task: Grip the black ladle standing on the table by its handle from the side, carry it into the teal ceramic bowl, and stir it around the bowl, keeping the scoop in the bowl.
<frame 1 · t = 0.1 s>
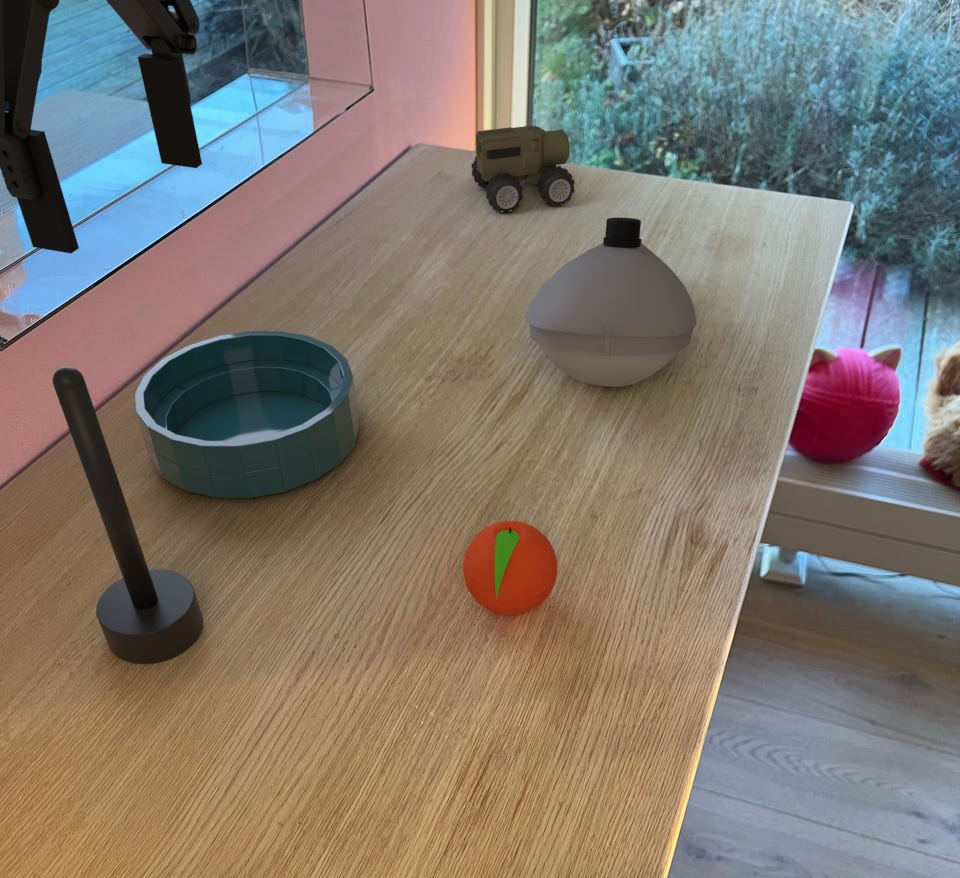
hand: (123, 203, 65), 27 cm above the table, tool pointing down, fingers open, 13 cm apart
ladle: (155, 630, 77), on the table
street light: (611, 349, 104), on the table
clementine: (509, 609, 78), on the table
toy vehicle: (522, 197, 131), on the table
bowl: (256, 442, 94), on the table
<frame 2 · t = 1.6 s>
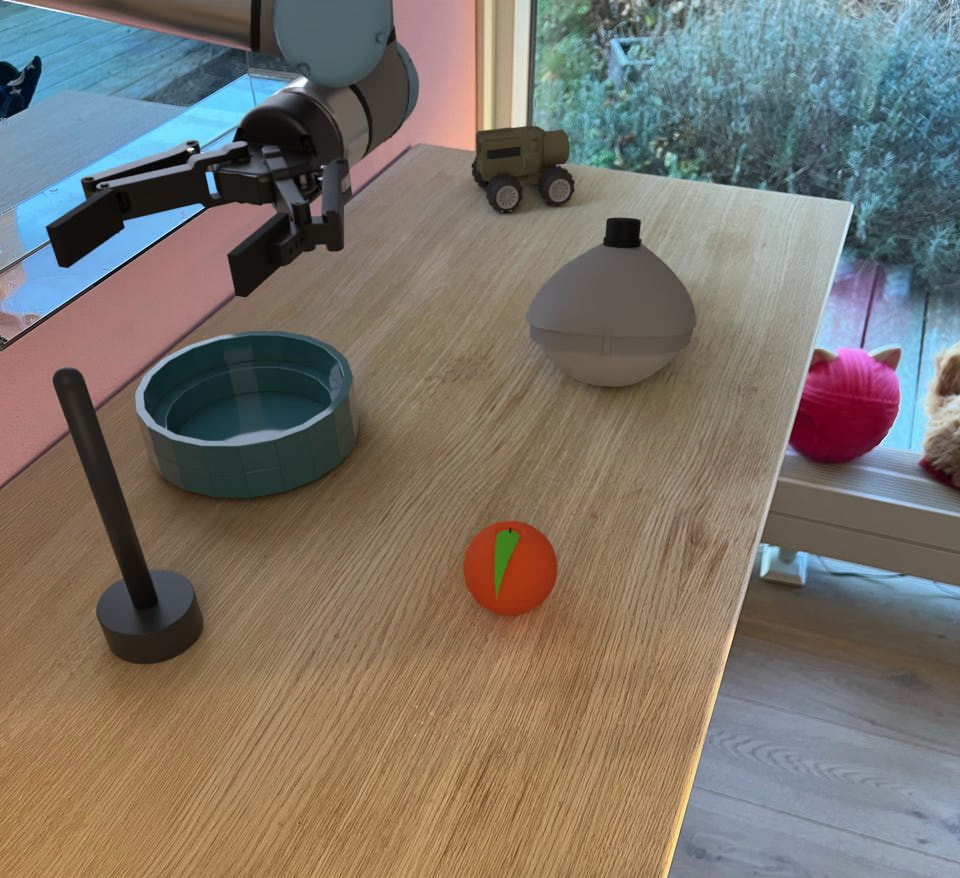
hand: (143, 262, 66), 24 cm above the table, tool horizontal, fingers open, 13 cm apart
nothing on the table moved.
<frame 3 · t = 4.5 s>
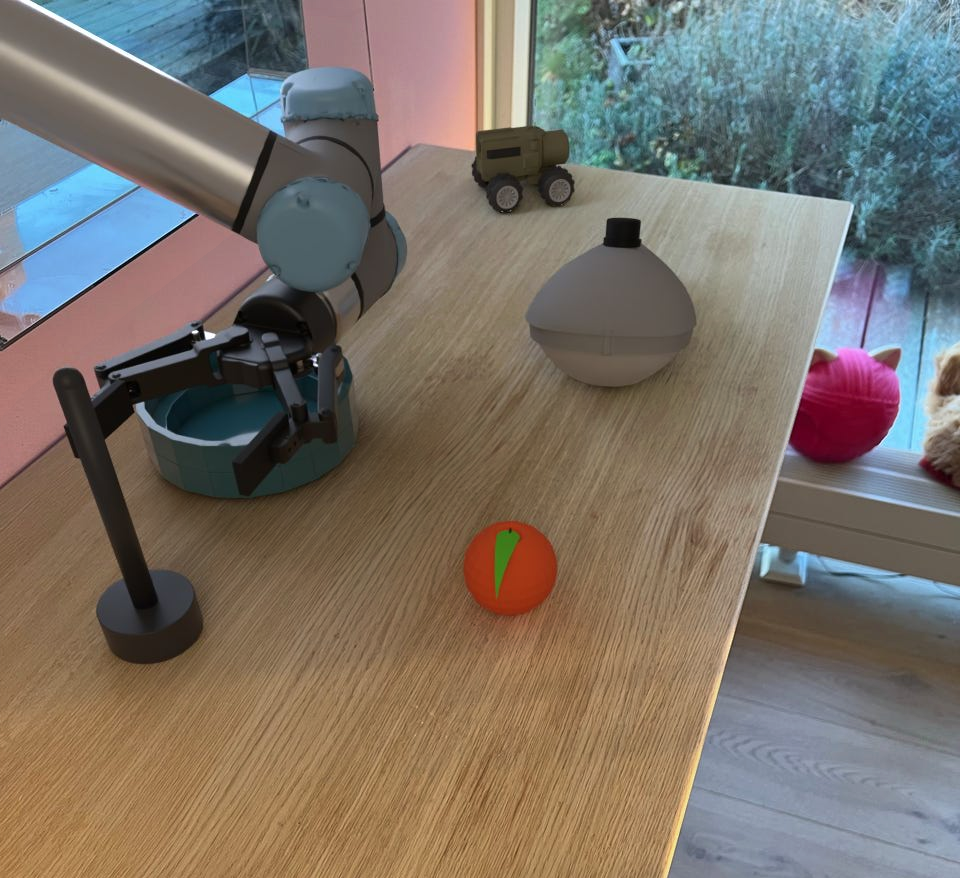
hand: (154, 461, 72), 12 cm above the table, tool horizontal, fingers open, 13 cm apart
nothing on the table moved.
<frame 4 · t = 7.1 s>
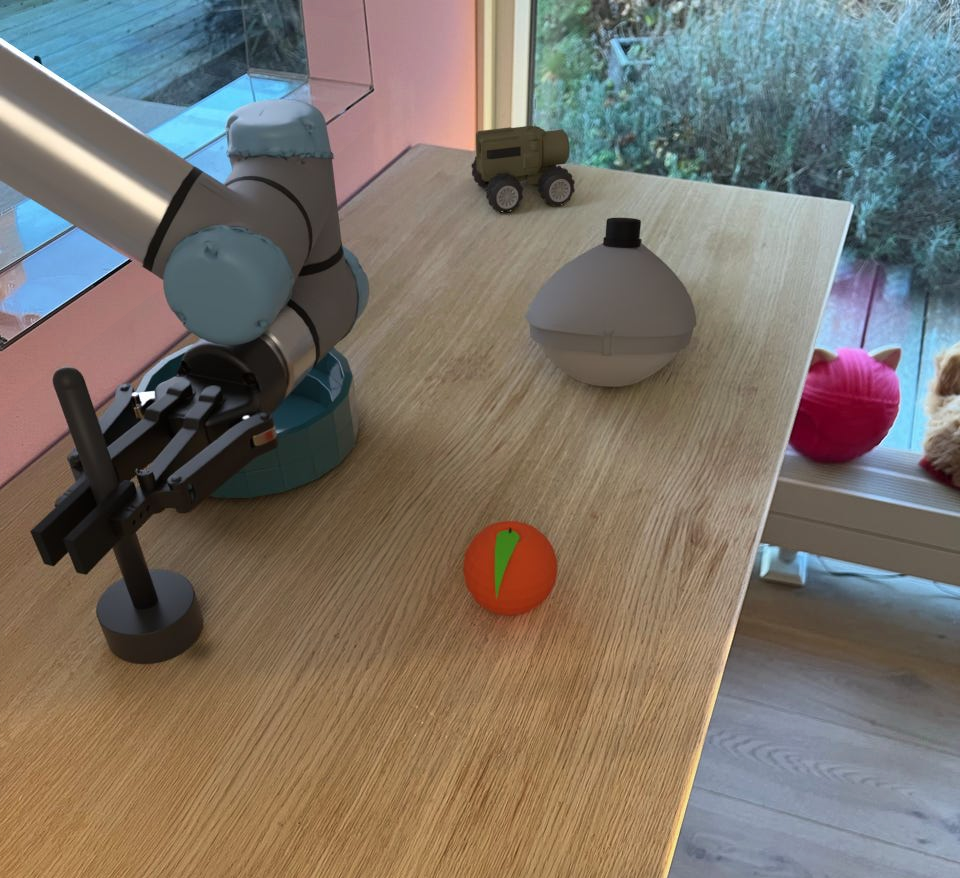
hand: (58, 552, 65), 12 cm above the table, tool horizontal, fingers closed on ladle, 2 cm apart
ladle: (155, 630, 77), on the table, touching gripper
everything else where it was.
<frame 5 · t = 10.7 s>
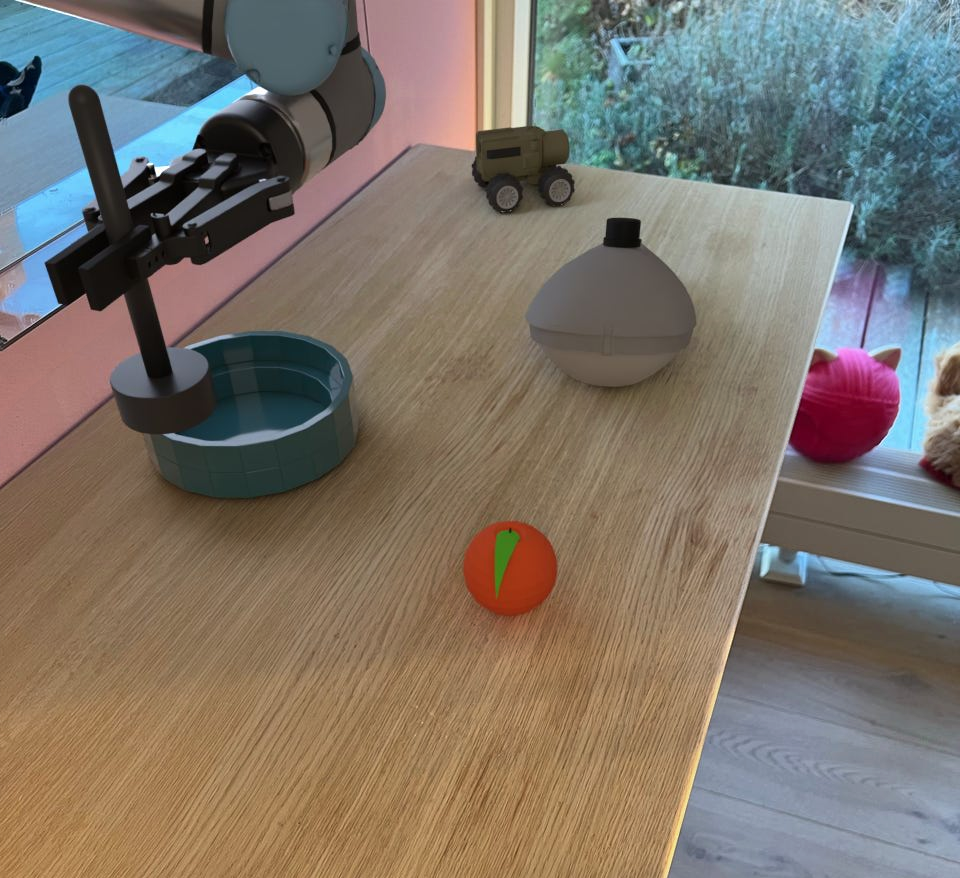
hand: (73, 287, 64), 24 cm above the table, tool horizontal, fingers closed on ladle, 2 cm apart
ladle: (169, 407, 76), point 12 cm above the table, touching gripper
everything else where it was.
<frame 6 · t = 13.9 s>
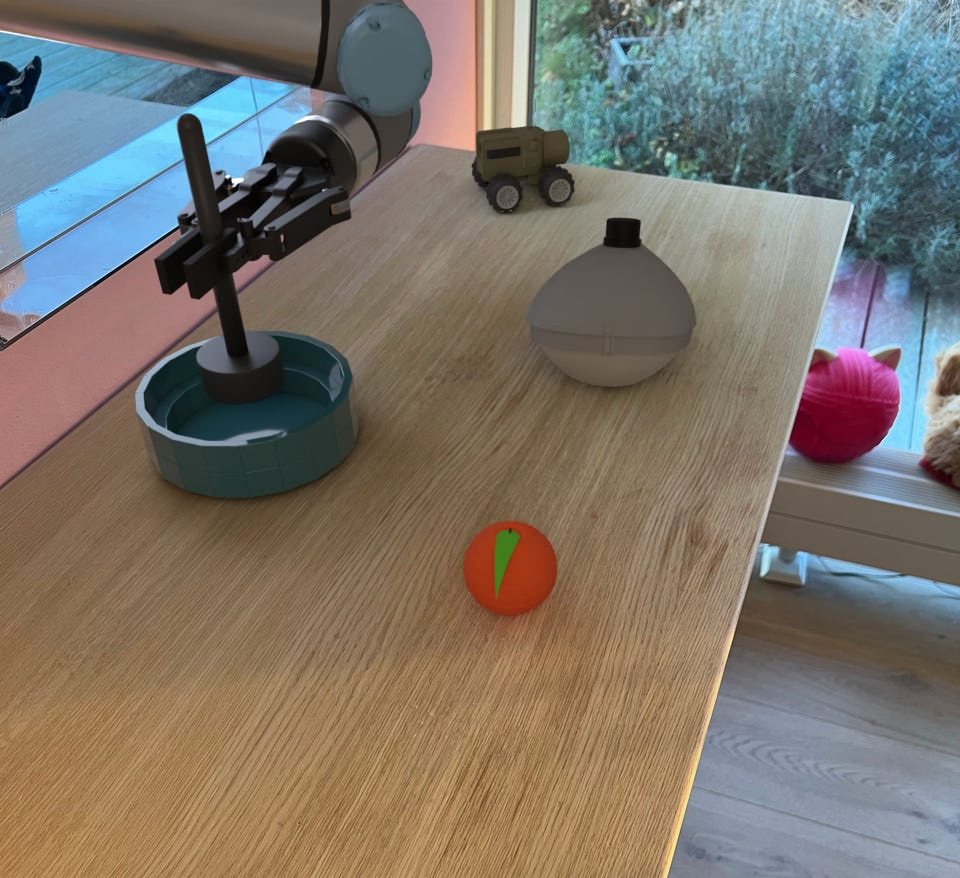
hand: (177, 279, 78), 18 cm above the table, tool horizontal, fingers closed on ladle, 2 cm apart
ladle: (244, 382, 90), point 6 cm above the table, touching gripper
everything else where it was.
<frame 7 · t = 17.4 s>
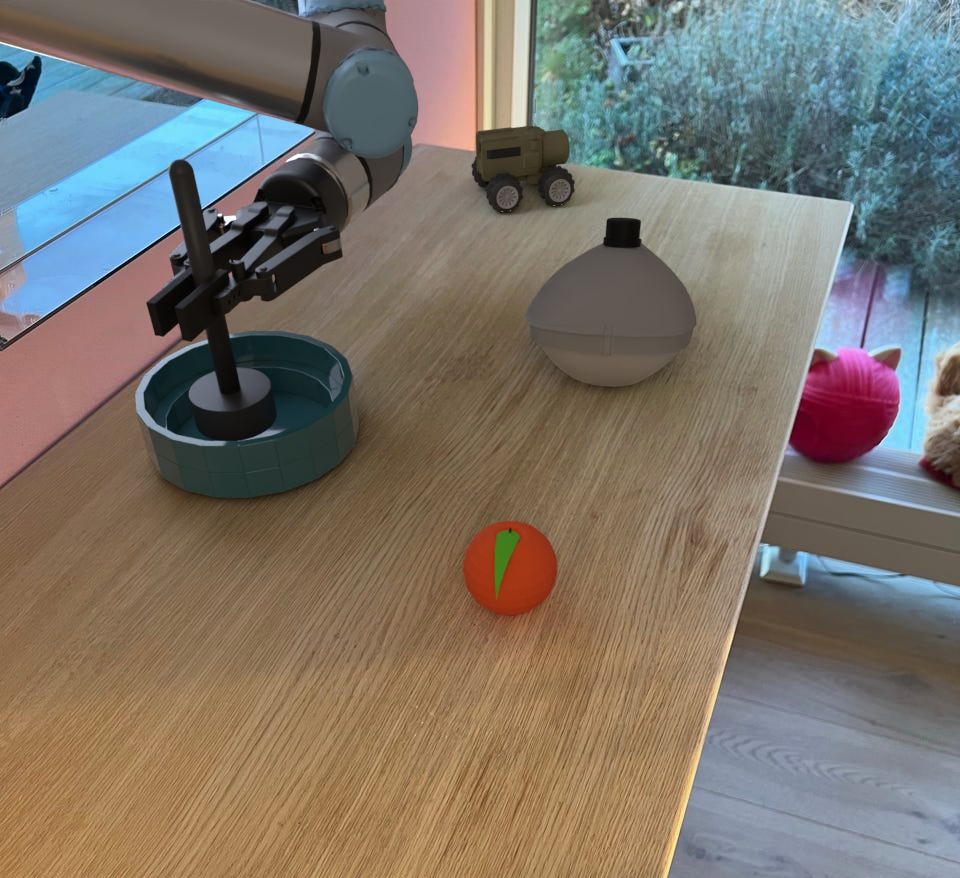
hand: (169, 321, 78), 16 cm above the table, tool horizontal, fingers closed on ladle, 2 cm apart
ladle: (236, 418, 90), point 4 cm above the table, touching gripper
everything else where it was.
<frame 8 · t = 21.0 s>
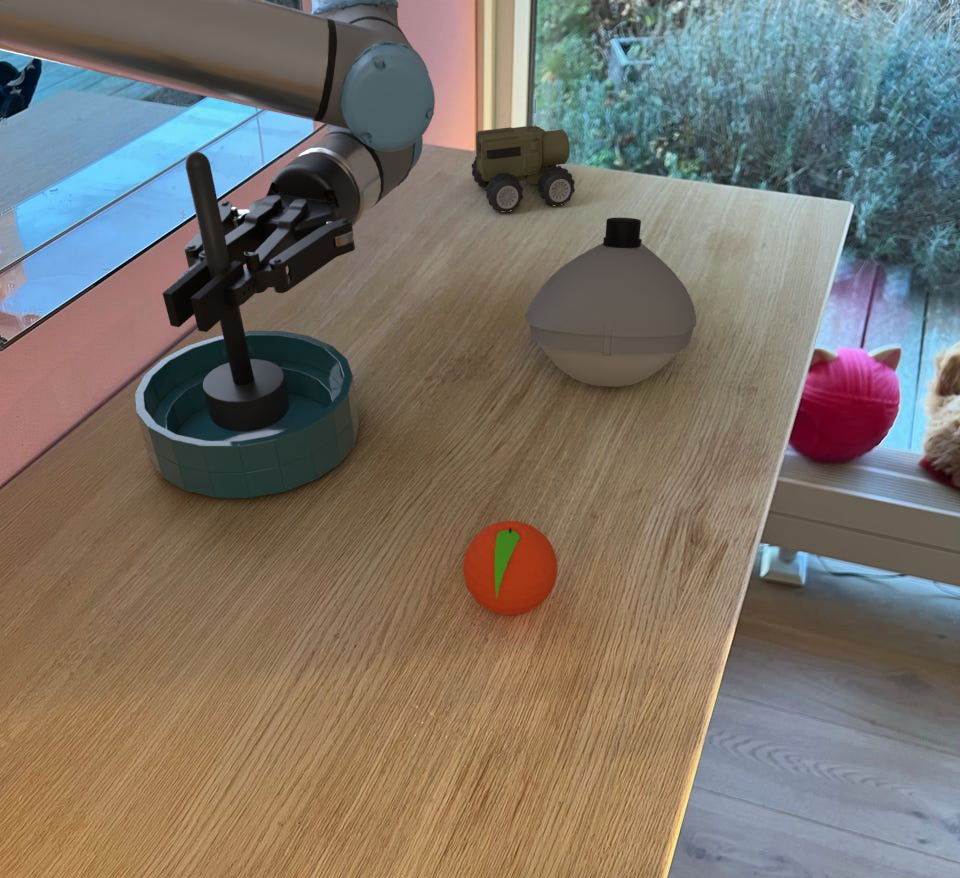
hand: (185, 312, 80), 15 cm above the table, tool horizontal, fingers closed on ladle, 2 cm apart
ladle: (249, 409, 92), point 3 cm above the table, touching gripper
everything else where it was.
at the end: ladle inside the target area in the bowl (0.0 cm from its centre), point 3.5 cm above the bowl's base; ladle moved 24.8 cm from its start; the gripper is holding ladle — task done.
